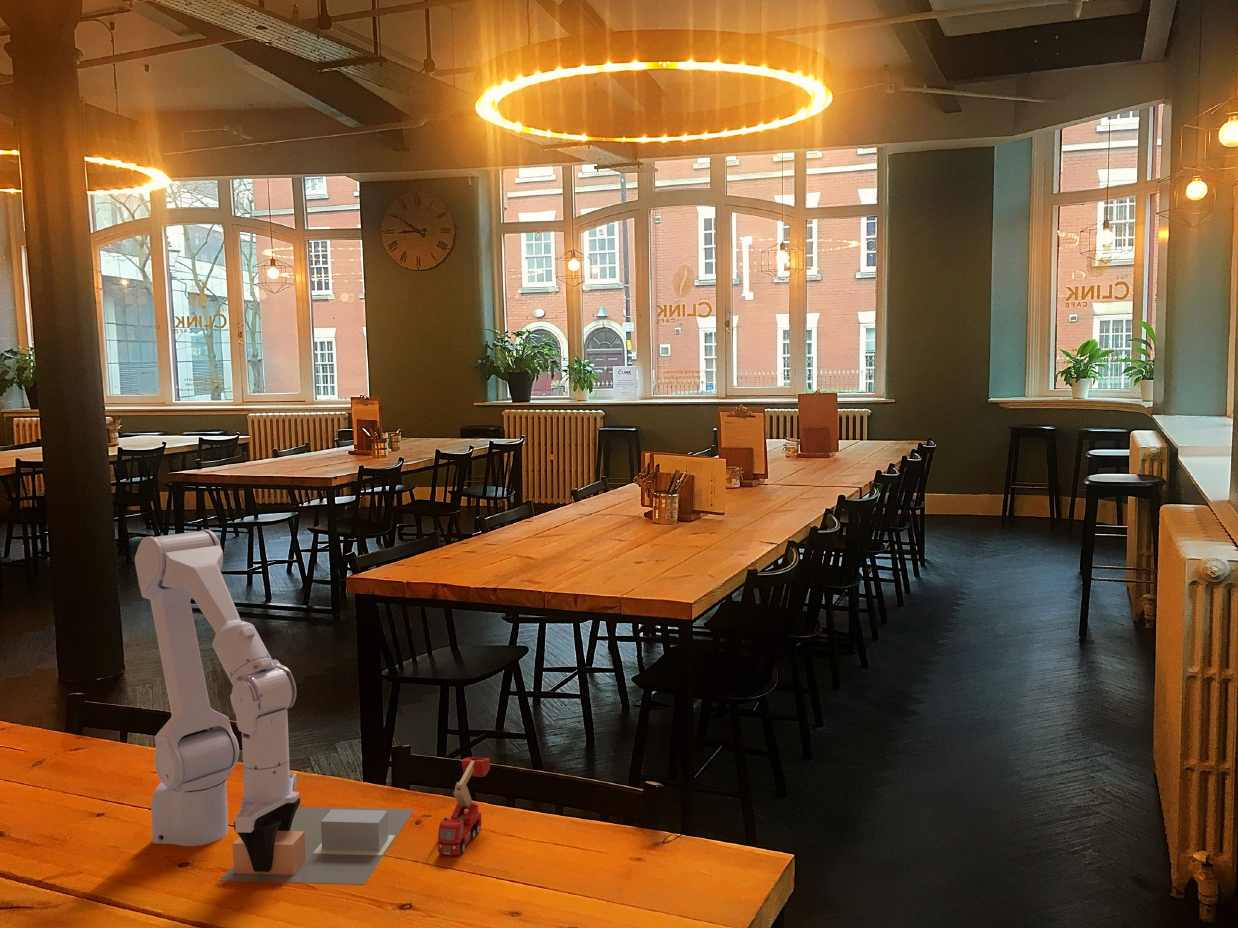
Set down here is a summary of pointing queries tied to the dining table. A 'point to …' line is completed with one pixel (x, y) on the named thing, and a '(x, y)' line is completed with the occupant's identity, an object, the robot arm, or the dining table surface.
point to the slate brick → (354, 830)
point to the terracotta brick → (284, 858)
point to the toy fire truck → (462, 811)
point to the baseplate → (329, 852)
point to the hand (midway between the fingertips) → (269, 862)
